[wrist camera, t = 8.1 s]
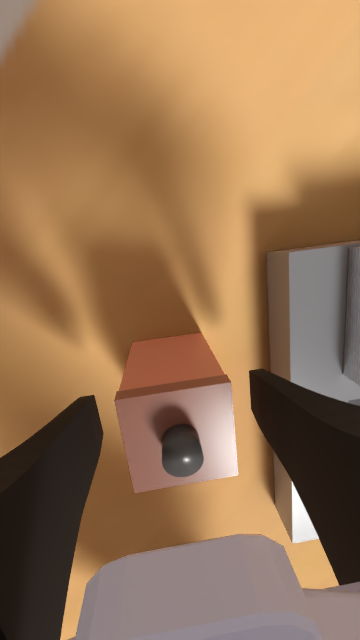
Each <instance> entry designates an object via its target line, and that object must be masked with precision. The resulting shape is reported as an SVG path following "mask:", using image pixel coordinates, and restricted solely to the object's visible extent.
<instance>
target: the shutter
mask: <svg viewBox="0 0 360 640" xmlns="http://www.w3.org/2000/svg"><path fill="white" fill-rule="evenodd" d="M343 375H344V376H346V377H347V378H349V379H350V380H352V381H353V382H355V383H356V384H358V385H359V386H360V247H354V248H349V262H348V283H347V304H346V325H345V346H344V368H343Z"/></svg>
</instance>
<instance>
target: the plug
mask: <svg viewBox="0 0 360 640" xmlns="http://www.w3.org/2000/svg"><path fill="white" fill-rule="evenodd" d="M114 401H115V406H116V410H117V415H118V420H119V424H120V429H121V434H122V438H123V443H124V447H125V452H126V457H127V461H128V466H129V471H130V475H131V480H132V485H133V489H134V493H139V492H145V491H151V490H156V489H162V488H168V487H174V486H179V485H185V484H191V483H196V482H202V481H208V480H214V479H219V478H225V477H231V476H236V475H238V466H237V453H236V440H235V427H234V415H233V402H232V389H231V381H230V380H229V378H228V376H227V374H226V375H225V374H224V372H223V371H222V369H221V367H220V365H219V363H218V362H217V360H216V358H215V356H214V354H213V353H212V351H211V349H210V347H209V345H208V344H207V342H206V340H205V338H204V336H203V334H202V333H201V332H200V333H193V334H186V335H179V336H172V337H165V338H158V339H152V340H145V341H138V342H132V345H131V349H130V352H129V356H128V360H127V363H126V367H125V371H124V374H123V378H122V382H121V385H120V389H119V391H117V393H116V396H115V400H114Z"/></svg>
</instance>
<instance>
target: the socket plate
mask: <svg viewBox="0 0 360 640" xmlns="http://www.w3.org/2000/svg"><path fill="white" fill-rule="evenodd" d="M354 247H360V240H355V241H348V242H340V243H333V244H325V245H318V246H310V247H303V248H295V249H288V250H280V251H273V252H266V257H267V285H268V314H269V342H270V371H271V373H273V374H276V375H278V376H280V377H282V378H284V379H286V380H288V381H290V382H293V383H295V384H297V385H299V386H302V387H304V388H306V389H309V390H312V391H314V392H317V393H319V394H322V395H325V396H328V397H331V398H334V399H337V400H340V401H344V402H347V403H351V404H354V405H359V406H360V386H359V385H358V384H356V383H355V382H353V381H352V380H350V379H349V378H347V377H346V376H344V375H343V368H344V346H345V325H346V304H347V283H348V262H349V248H354ZM273 456H274V485H275V507H276V509H277V511H278V513H279V515H280V518H281V520H282V522H283V524H284V526H285V528H286V531H287V533H288V535H289V537H290V539H291V541H292V543H293V544H294V543H299V542H304V541H309V540H315V539H319V537H318V535H317V533H316V531H315V528H314V526H313V524H312V522H311V520H310V518H309V516H308V513H307V511H306V509H305V507H304V505H303V503H302V501H301V499H300V497H299V495H298V493H297V491H296V489H295V486H294V484H293V482H292V480H291V479H290V477H289V475H288V473H287V472H286V470H285V468H284V467H283V465H282V463H281V462H280V460H279V458H278V457H277V455H276V454H275V452H274V450H273Z"/></svg>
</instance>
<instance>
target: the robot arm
mask: <svg viewBox="0 0 360 640" xmlns="http://www.w3.org/2000/svg"><path fill="white" fill-rule="evenodd" d="M249 377H250V394H251V409H252V412H253V414H254V416H255V419H256V421H257V423H258V425H259V427H260V429H261V431H262V432H263V434H264V436H265V437H266V439H267V441H268V442H269V444H270V446H271V447H272V449H273V450H274V452H275V454H276V455H277V457H278V458H279V460H280V462H281V463H282V465H283V467H284V468H285V470H286V472H287V473H288V475H289V477H290V479H291V480H292V482H293V484H294V486H295V489H296V491H297V493H298V495H299V497H300V499H301V501H302V503H303V505H304V507H305V509H306V511H307V513H308V516H309V518H310V520H311V522H312V524H313V526H314V528H315V531H316V533H317V535H318V537H319V539H320V542H321V544H322V546H323V548H324V551H325V553H326V555H327V557H328V560H329V562H330V564H331V566H332V569H333V571H334V573H335V576H336V578H337V581H338V583H339V585H340V586H336V587H331V588H326V589H306V588H301V586H300V584H299V582H298V579H297V577H296V574H295V572H294V570H293V567H292V565H291V563H290V560H289V558H288V556H287V553H286V551H285V549H284V546H282V545H281V544H279V543H277V542H275V541H273V540H271V539H269V538H268V537H266V536H264V535H261V534H236V535H231V536H225V537H220V538H215V539H209V540H204V541H199V542H193V543H188V544H182V545H177V546H172V547H166V548H161V549H156V550H150V551H145V552H140V553H134V554H129V555H126V556H124V557H121V558H119V559H116V560H114V561H111V562H109V563H106V564H105V565H104V566H102V567H101V568H100V569H99V570H98V572H97V573H96V574H95V575H94V576H93V577H92V578H91V579H90V580H89V582H88V583H87V585H86V589H85V594H84V599H83V604H82V608H81V613H80V618H79V622H78V627H77V632H76V636H75V637H73V638H71V639H68V640H360V406H359V405H354V404H351V403H347V402H344V401H340V400H337V399H334V398H331V397H328V396H325V395H322V394H319V393H317V392H314V391H312V390H309V389H306V388H304V387H302V386H299V385H297V384H295V383H293V382H290V381H288V380H286V379H284V378H282V377H280V376H278V375H276V374H273V373H271V372H269V371H267V370H264V369H257V370H251V371H249ZM102 439H103V429H102V425H101V421H100V417H99V413H98V409H97V405H96V401H95V396H94V395H90V396H84V397H80V398H78V399H77V400H76V401H74V402H73V403H72V404H71V405H69V406H68V407H67V408H66V409H65V410H64V411H62V412H61V413H60V414H59V415H58V416H56V417H55V418H54V419H53V420H52V421H51V422H49V423H48V424H47V425H46V426H44V427H43V428H42V429H40V430H39V431H38V432H37V433H35V434H34V435H33V436H31V437H30V438H29V439H28V440H26V441H25V442H23V443H22V444H21V445H19V446H18V447H16V448H15V449H13V450H12V451H10V452H9V453H7V454H6V455H4V456H3V457H1V458H0V640H60V636H61V629H62V622H63V616H64V610H65V603H66V597H67V591H68V585H69V579H70V573H71V568H72V562H73V557H74V551H75V546H76V541H77V536H78V531H79V526H80V521H81V517H82V513H83V509H84V506H85V502H86V499H87V496H88V493H89V489H90V486H91V483H92V479H93V476H94V473H95V470H96V466H97V463H98V459H99V456H100V451H101V445H102Z"/></svg>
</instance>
